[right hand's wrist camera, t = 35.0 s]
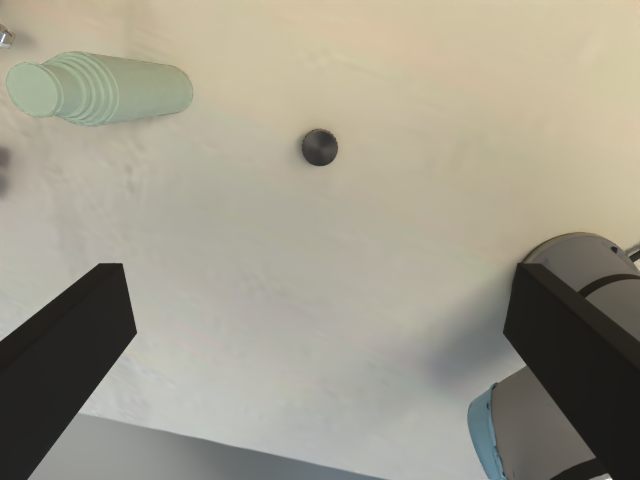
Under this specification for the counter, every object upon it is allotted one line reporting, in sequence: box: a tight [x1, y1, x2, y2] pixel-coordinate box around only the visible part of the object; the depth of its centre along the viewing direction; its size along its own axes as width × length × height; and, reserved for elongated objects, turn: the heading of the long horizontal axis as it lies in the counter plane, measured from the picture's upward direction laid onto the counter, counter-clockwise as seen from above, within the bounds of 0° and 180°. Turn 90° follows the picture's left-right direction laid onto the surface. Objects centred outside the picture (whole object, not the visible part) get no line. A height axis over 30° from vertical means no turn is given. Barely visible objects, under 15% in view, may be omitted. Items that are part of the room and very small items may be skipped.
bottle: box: [6, 51, 193, 126], centre depth 34 cm, size 5×5×23 cm
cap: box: [302, 129, 338, 166], centre depth 46 cm, size 4×4×2 cm
